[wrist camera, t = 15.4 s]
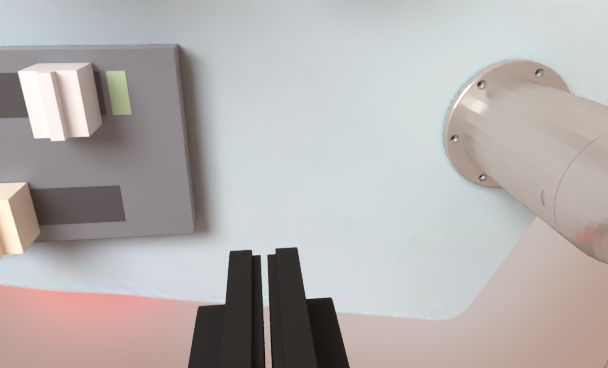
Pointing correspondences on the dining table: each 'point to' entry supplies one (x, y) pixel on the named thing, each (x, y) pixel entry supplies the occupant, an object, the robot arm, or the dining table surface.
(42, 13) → the dining table surface
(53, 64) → the ridged white block
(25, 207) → the cream tab
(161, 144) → the switch panel
